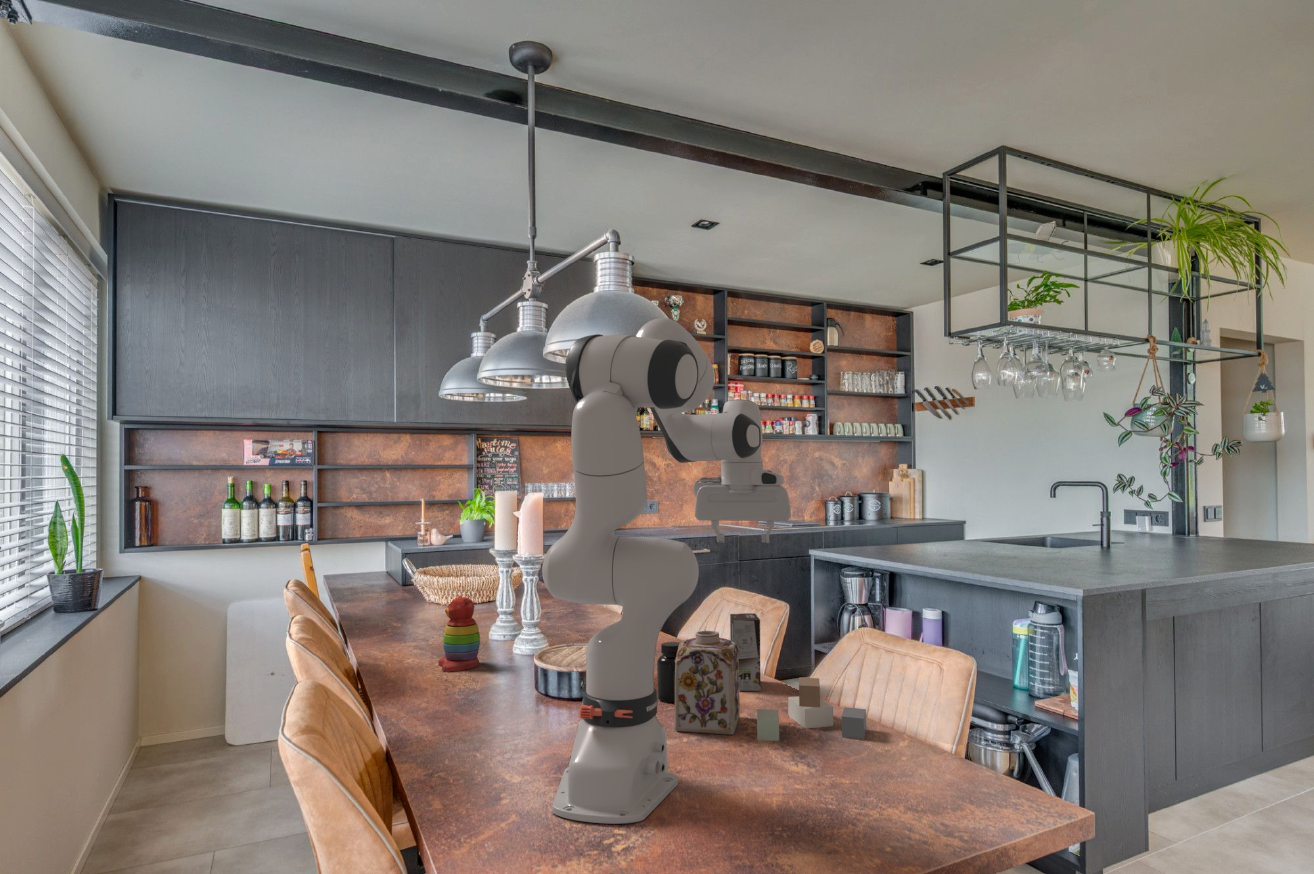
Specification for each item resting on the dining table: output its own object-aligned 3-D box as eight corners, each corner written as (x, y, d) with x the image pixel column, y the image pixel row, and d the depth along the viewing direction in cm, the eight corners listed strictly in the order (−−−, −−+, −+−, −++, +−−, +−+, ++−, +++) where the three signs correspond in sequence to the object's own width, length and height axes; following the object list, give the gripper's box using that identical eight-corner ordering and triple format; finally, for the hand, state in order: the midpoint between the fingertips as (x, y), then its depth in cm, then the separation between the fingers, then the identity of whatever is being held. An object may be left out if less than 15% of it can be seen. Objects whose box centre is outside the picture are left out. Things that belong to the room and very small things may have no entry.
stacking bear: (436, 663, 197) (437, 595, 198) (475, 659, 201) (476, 592, 202) (443, 672, 187) (444, 601, 188) (483, 668, 191) (484, 598, 192)
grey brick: (864, 740, 138) (863, 718, 138) (842, 738, 139) (841, 716, 139) (866, 730, 143) (865, 708, 144) (845, 727, 145) (844, 706, 145)
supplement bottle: (689, 694, 167) (688, 640, 167) (687, 703, 160) (687, 647, 161) (658, 694, 167) (658, 640, 168) (655, 703, 161) (655, 647, 161)
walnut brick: (820, 707, 145) (819, 686, 146) (799, 705, 146) (798, 685, 146) (819, 698, 151) (819, 678, 151) (799, 697, 152) (799, 677, 152)
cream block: (833, 727, 146) (833, 706, 146) (805, 729, 144) (804, 708, 144) (815, 714, 153) (815, 694, 154) (788, 716, 152) (788, 696, 152)
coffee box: (761, 691, 169) (760, 619, 170) (733, 691, 169) (732, 619, 170) (757, 680, 178) (756, 612, 179) (730, 680, 178) (729, 612, 179)
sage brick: (779, 741, 137) (778, 719, 138) (757, 740, 138) (757, 718, 138) (778, 730, 143) (778, 709, 144) (757, 729, 144) (757, 708, 144)
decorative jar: (734, 736, 140) (733, 639, 141) (673, 732, 142) (673, 637, 143) (740, 716, 152) (739, 627, 153) (684, 712, 154) (683, 625, 155)
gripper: (691, 477, 157) (691, 542, 156) (789, 476, 152) (790, 544, 152) (696, 477, 163) (696, 540, 162) (790, 476, 159) (791, 542, 158)
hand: (742, 542), depth 157 cm, fingers open, 8 cm apart
